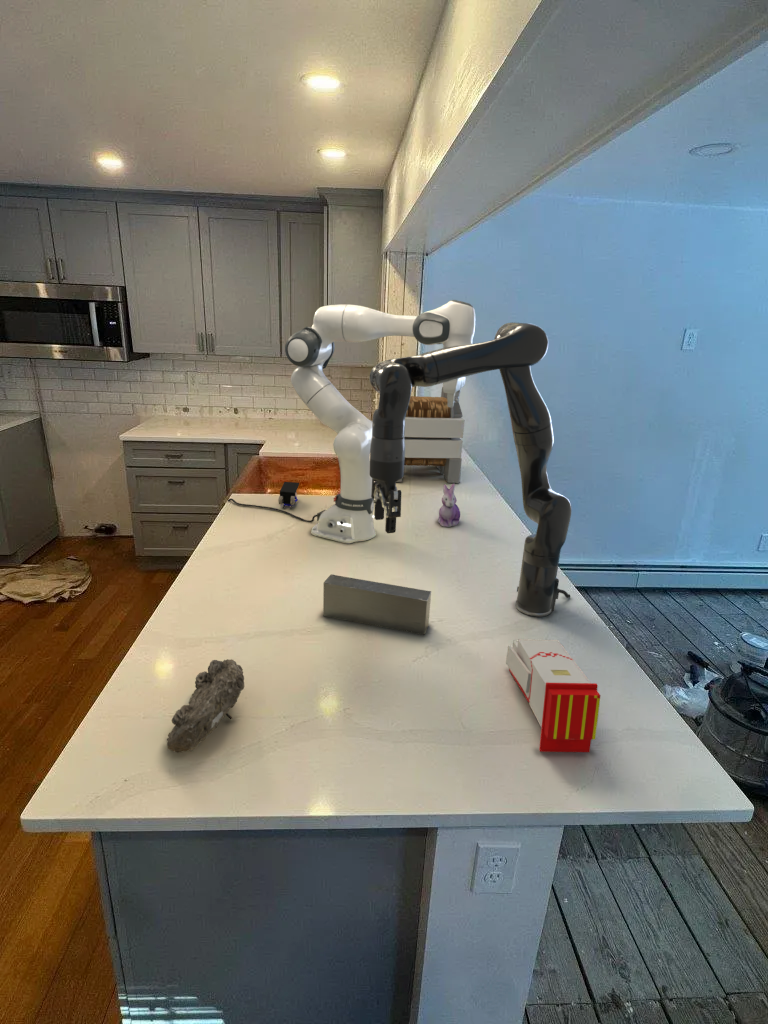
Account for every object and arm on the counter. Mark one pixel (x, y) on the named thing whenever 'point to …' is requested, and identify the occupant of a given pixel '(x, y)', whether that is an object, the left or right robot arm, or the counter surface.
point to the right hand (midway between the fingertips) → (384, 525)
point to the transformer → (434, 435)
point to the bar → (377, 604)
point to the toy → (556, 694)
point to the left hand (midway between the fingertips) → (453, 404)
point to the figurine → (449, 508)
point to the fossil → (206, 705)
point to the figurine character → (288, 494)
